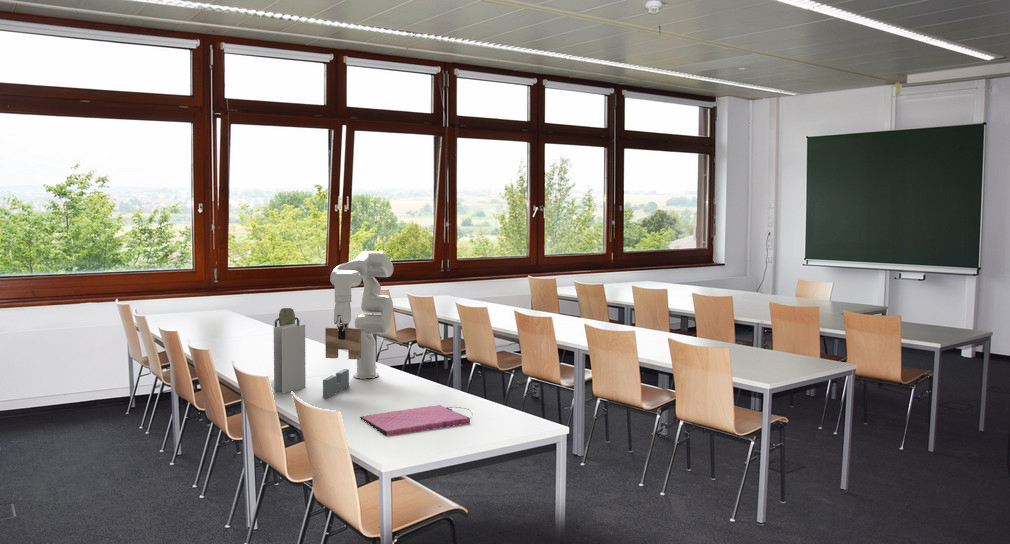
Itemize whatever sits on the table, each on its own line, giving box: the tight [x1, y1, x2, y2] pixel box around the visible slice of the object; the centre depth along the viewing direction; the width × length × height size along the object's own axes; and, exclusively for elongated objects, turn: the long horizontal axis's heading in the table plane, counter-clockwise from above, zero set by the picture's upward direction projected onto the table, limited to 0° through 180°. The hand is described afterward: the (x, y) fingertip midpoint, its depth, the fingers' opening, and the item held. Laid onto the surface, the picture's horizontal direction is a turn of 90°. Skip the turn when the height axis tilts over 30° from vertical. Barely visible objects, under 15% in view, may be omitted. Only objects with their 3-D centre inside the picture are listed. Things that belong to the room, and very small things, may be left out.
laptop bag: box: [359, 404, 473, 437], centre depth 302 cm, size 40×4×27 cm
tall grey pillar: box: [273, 323, 307, 394], centre depth 349 cm, size 14×6×30 cm, turn 149°
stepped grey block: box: [322, 368, 350, 399], centre depth 348 cm, size 24×2×8 cm, turn 169°
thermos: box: [274, 307, 300, 327], centre depth 371 cm, size 9×12×35 cm
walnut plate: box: [324, 326, 361, 360], centre depth 346 cm, size 3×16×14 cm, turn 81°
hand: (343, 338), depth 345 cm, fingers closed on walnut plate, 3 cm apart
